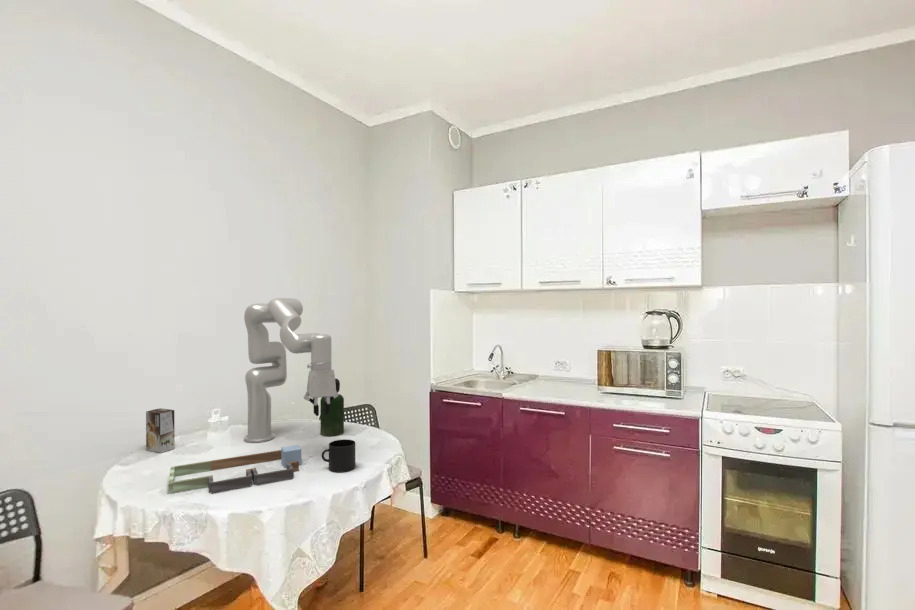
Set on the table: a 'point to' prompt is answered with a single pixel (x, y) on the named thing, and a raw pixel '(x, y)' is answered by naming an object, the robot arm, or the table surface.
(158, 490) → the table surface
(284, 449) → the block
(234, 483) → the trap box
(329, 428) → the green bottle
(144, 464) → the table surface
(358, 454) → the table surface
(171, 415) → the coffee box
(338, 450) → the mug
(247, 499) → the table surface
